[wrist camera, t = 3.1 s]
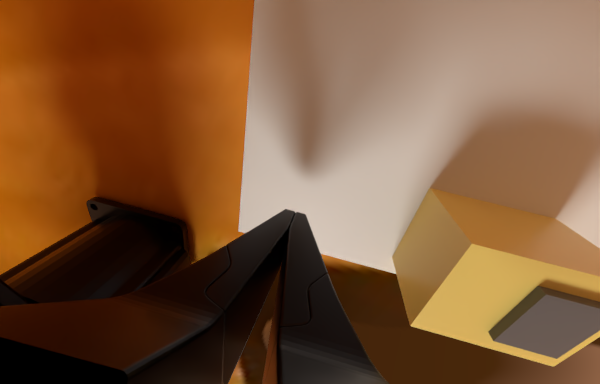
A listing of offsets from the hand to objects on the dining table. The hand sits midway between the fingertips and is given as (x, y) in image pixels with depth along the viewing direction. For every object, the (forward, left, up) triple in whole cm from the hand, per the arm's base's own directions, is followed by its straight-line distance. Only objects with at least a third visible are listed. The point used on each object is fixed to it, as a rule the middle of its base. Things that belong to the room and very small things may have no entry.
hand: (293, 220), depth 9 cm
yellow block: (+8, 0, -2) cm, 8 cm away
